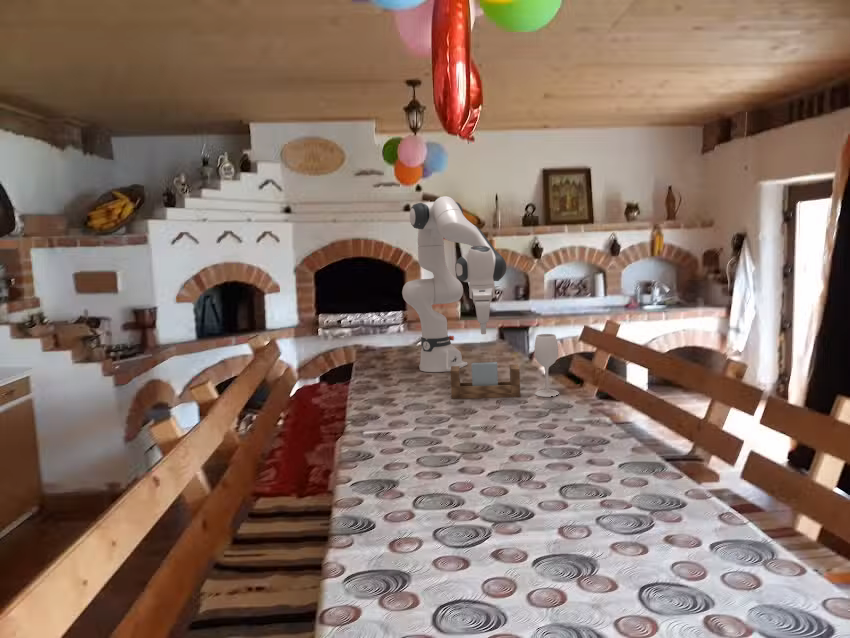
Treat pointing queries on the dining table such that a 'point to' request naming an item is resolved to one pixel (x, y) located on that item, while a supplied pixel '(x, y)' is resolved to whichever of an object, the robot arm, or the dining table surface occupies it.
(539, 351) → the wineglass
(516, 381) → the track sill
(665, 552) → the dining table surface
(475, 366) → the door panel
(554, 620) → the dining table surface
